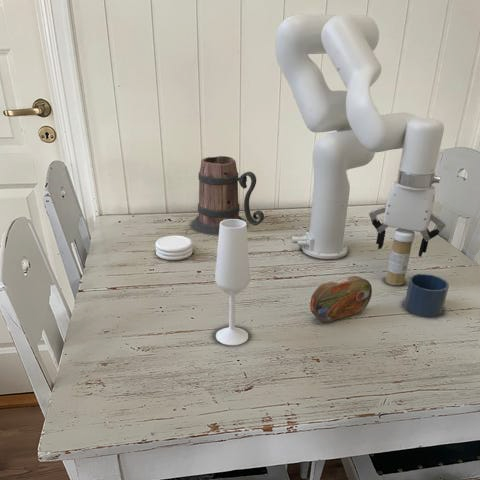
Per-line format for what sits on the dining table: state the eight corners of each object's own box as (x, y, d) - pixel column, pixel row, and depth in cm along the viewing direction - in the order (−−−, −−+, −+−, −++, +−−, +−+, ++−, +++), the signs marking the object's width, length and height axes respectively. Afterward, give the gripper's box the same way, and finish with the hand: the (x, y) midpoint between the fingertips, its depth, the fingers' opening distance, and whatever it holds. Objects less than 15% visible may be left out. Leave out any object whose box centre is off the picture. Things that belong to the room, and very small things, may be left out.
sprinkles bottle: (395, 276, 124) (405, 226, 117) (408, 284, 120) (419, 232, 113) (381, 280, 122) (390, 229, 115) (393, 287, 119) (404, 235, 112)
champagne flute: (237, 348, 96) (239, 233, 83) (209, 338, 99) (206, 225, 86) (254, 333, 100) (258, 221, 88) (227, 323, 103) (227, 214, 91)
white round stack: (149, 257, 132) (148, 245, 130) (167, 244, 140) (166, 232, 138) (182, 263, 129) (181, 251, 127) (198, 249, 137) (198, 238, 135)
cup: (412, 317, 107) (418, 291, 103) (398, 299, 114) (404, 274, 110) (448, 316, 107) (455, 290, 104) (432, 298, 114) (438, 273, 111)
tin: (314, 326, 103) (318, 291, 99) (306, 319, 105) (309, 284, 101) (369, 310, 109) (375, 276, 105) (360, 304, 112) (366, 271, 107)
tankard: (181, 228, 150) (178, 162, 140) (208, 212, 163) (207, 150, 153) (250, 242, 142) (252, 173, 131) (273, 224, 154) (276, 160, 144)
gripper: (457, 180, 108) (439, 252, 117) (379, 170, 114) (367, 239, 123) (454, 189, 102) (436, 263, 111) (372, 177, 108) (360, 249, 117)
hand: (400, 250), depth 117 cm, fingers open, 9 cm apart
